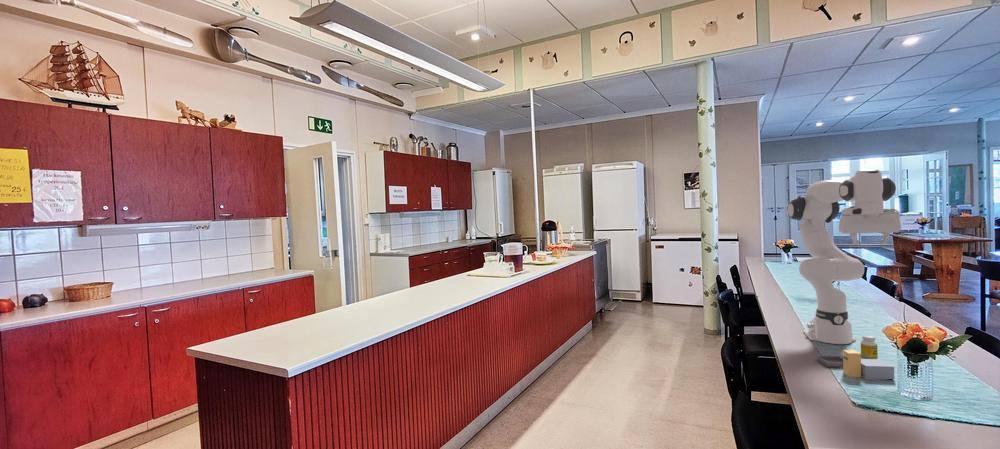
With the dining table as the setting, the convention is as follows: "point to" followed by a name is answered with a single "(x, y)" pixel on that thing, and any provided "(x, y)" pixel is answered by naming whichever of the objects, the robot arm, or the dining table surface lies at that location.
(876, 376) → the block
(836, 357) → the dish
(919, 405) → the dining table surface
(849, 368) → the stub
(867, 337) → the supplement bottle
